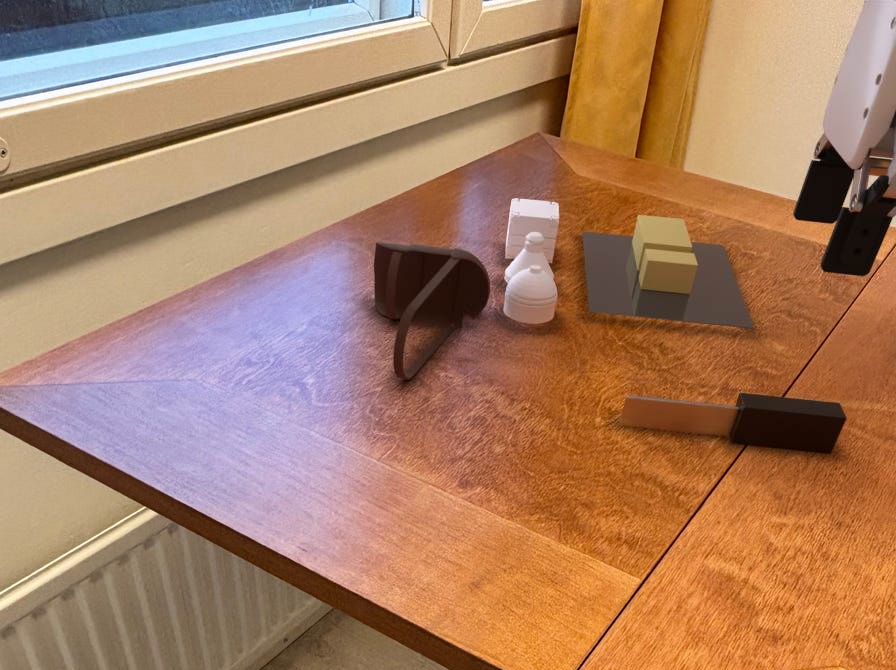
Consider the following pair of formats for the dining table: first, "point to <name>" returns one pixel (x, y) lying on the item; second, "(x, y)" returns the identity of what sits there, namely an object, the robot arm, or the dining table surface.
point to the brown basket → (427, 292)
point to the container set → (531, 261)
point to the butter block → (659, 236)
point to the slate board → (621, 293)
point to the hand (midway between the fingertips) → (827, 245)
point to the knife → (745, 420)
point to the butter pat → (667, 271)
